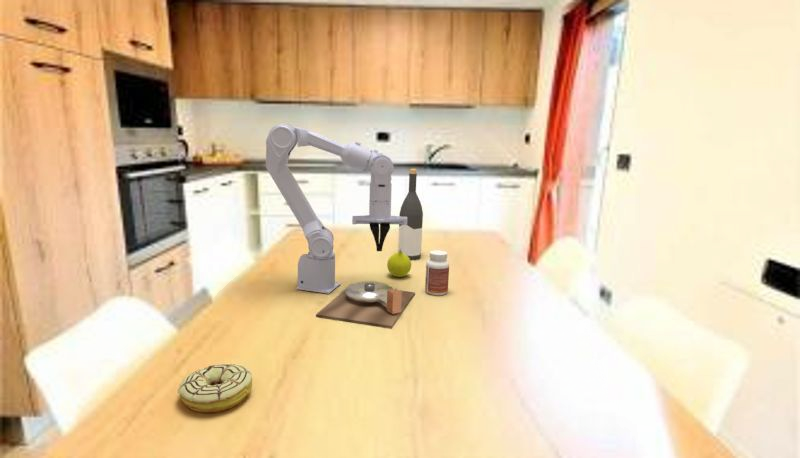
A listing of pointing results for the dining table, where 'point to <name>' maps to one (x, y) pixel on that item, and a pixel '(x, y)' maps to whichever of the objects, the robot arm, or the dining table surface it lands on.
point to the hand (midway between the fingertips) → (379, 250)
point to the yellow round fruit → (399, 264)
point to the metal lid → (376, 294)
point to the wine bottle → (411, 222)
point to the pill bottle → (437, 273)
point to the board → (363, 311)
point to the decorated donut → (215, 387)
